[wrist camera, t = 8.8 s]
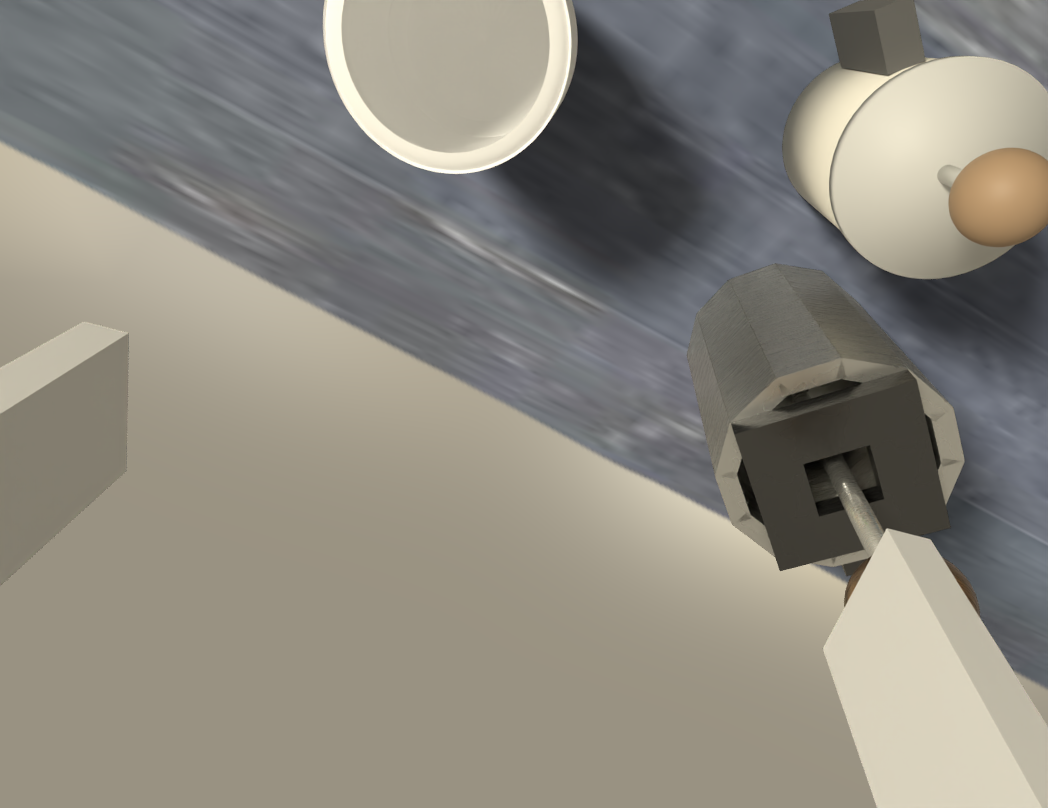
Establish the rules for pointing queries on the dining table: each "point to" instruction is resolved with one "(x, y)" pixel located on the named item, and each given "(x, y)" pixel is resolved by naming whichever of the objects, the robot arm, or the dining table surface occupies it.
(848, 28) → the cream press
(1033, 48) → the dining table surface
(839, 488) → the plunger
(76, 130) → the dining table surface
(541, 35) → the jar
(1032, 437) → the dining table surface
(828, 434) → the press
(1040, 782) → the robot arm
